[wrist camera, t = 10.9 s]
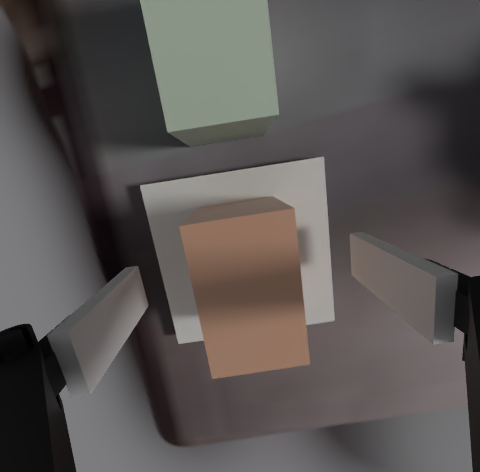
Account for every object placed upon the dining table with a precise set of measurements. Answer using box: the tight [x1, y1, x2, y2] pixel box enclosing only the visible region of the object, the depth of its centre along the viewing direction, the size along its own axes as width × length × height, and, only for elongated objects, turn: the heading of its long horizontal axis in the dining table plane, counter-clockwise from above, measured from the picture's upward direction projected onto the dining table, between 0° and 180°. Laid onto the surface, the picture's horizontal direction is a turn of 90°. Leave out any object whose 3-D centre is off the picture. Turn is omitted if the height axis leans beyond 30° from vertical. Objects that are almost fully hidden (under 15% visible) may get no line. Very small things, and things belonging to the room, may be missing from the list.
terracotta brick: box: [179, 196, 310, 379], centre depth 14 cm, size 8×5×6 cm, turn 9°
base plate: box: [140, 157, 335, 344], centre depth 18 cm, size 12×12×1 cm
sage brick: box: [140, 0, 279, 147], centre depth 13 cm, size 8×5×6 cm, turn 9°
